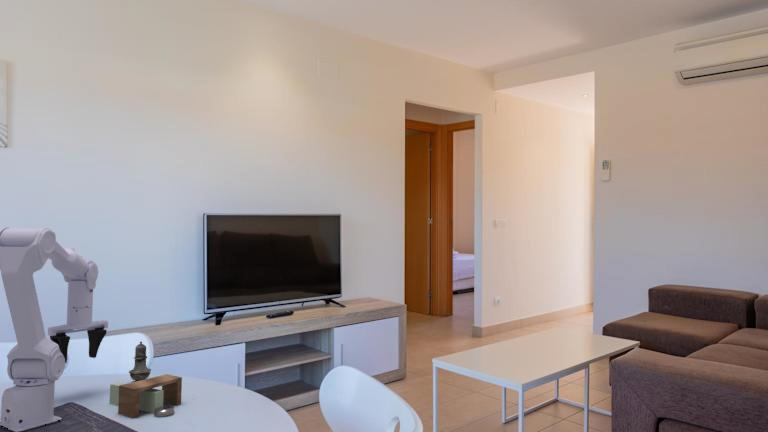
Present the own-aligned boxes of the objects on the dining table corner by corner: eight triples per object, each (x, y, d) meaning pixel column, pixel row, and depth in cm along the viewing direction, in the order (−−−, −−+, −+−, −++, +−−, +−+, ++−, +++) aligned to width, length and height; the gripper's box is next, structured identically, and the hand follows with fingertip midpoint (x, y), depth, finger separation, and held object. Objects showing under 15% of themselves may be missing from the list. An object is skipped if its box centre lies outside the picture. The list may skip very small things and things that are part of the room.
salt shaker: (134, 387, 149) (136, 343, 150) (124, 383, 153) (125, 341, 153) (155, 383, 154) (156, 340, 154) (144, 379, 157) (145, 338, 158)
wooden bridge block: (133, 418, 123) (134, 389, 123) (118, 413, 126) (119, 385, 126) (181, 404, 134) (181, 377, 134) (165, 400, 137) (166, 374, 138)
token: (162, 419, 123) (162, 413, 123) (149, 416, 125) (149, 410, 125) (178, 414, 127) (178, 407, 127) (165, 411, 129) (165, 405, 129)
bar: (154, 414, 127) (155, 392, 127) (109, 404, 134) (110, 384, 134) (162, 411, 129) (163, 390, 129) (117, 402, 136) (118, 382, 136)
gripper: (98, 303, 147) (96, 353, 146) (42, 308, 135) (40, 363, 134) (113, 305, 143) (111, 356, 143) (57, 310, 131) (55, 366, 130)
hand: (78, 360), depth 138 cm, fingers open, 7 cm apart
